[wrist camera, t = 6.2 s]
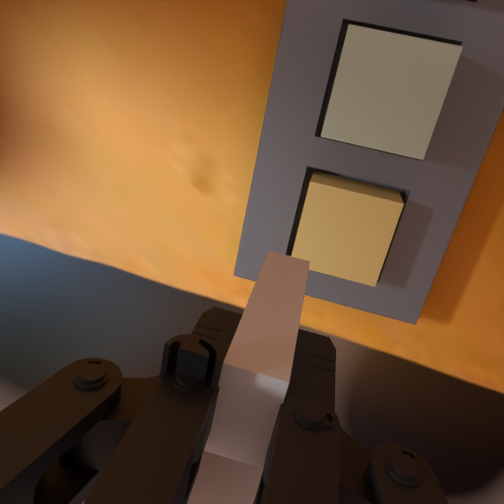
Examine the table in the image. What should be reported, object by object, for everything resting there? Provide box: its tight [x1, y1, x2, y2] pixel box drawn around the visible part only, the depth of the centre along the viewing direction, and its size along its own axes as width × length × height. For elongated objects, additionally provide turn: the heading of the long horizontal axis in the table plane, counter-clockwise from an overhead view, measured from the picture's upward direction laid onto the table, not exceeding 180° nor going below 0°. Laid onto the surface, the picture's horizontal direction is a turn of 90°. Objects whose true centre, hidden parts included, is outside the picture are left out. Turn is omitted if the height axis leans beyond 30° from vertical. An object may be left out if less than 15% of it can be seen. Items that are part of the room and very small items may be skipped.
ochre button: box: [291, 170, 404, 287], centre depth 31 cm, size 6×6×4 cm
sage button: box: [321, 24, 463, 160], centre depth 26 cm, size 6×6×4 cm
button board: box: [234, 0, 504, 325], centre depth 28 cm, size 14×30×2 cm, turn 169°
